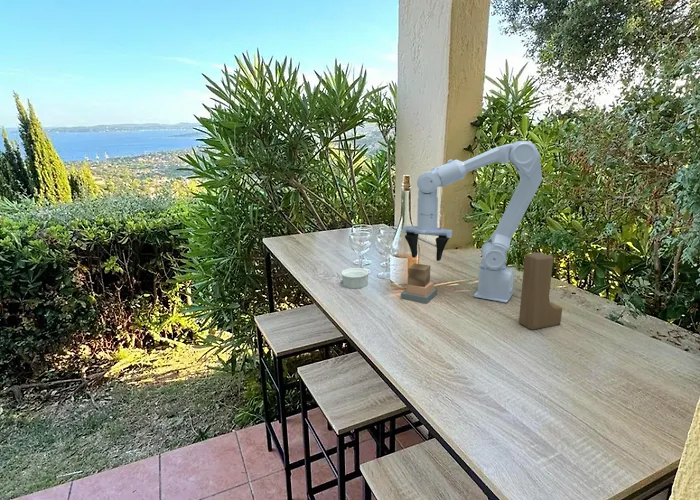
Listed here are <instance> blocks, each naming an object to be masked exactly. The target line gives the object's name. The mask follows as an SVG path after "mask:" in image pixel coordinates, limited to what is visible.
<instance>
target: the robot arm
mask: <svg viewBox="0 0 700 500" xmlns="http://www.w3.org/2000/svg"><path fill="white" fill-rule="evenodd" d="M493 163H503V164H508V163H511V164H512V165H513V166H514V167H515V169H516V171H517V174H518V176H519V178H520V181H519V182H518V185H517V186H516V188H515V190H514V193H513V194H512V196H511V198H510V200H509V202H508V204H507V207H506V208H505V210H504V213H503V215H502V216H501V218H500V220H499V222H498V224H497V226H496V229H495V230H494V231H493V233H491V235H490V237H489V239H488V240H487V241H485V242H484V243H483V245H482V246H481V248H480V254H481V257H482V261H481V262H480V263H479V266H478V279H477V280H478V281H477V283H478V285H477V290H476V291H475V293H474V294H473V295H472V296H473V298H477V299H483V300H484V299H485V300H489V301H494V302H501V303H505V304H506V303H508V302H509V301H510V299H511V297H512V295H513V294H514V293H513V291H514V279H515V271H514V269H513V268H509V267H507V264H506V262H507V259H508V258H507V254H508V251H509V249H510V246H511V241H512V239H513V237H514V236H515V233H516V231H517V229H518V227H519V225H520V223H521V221H522V219H523V217H524V216H525V213H526V212H527V210H528V208H529V206H530V204H531V202H532V201H533V198H534V196H535V194H536V193H537V191H538V188H539V187H540V185H541V183H542V180H543V174H542V164H541V154H540V153H539V150H538V149H537V147H536V145H535V144H534V143H533V142H531V141H529V140H528V141H527V140H517V141H515V142H512V143H506V144H503V145H500V146H497V147H493V148H491V149H488V150H487V151H485V152H482V153H480V154H477V155H475V156H474V157H471V158H469V159H466V160H465V161H461V160H459V159H454V160H453V159H449V160H447V163H445V164H443V165H440V166H437V167H435V166H432V167H431V168H430V170H429V171H428V170H427V171H424V172H423V173H421V174H420V175H419V176H418V178H417V180H416V185H417V189H418V192H417V196H418V197H417V212H416V213H417V215H416V216H417V220H416V221H417V223H416V225H405V226H402V234H405V235H404V238H405V240H406V243H407V244H408V246H409V250H410V253H411V258H416V257H417V256H418V243H419V242H418V240H419V236H420V235H425V236H434V237H435V236H436V237H435V243H436V244H435V246H436V256H435V258H436V262H440V261H441V260H442V256H443V253H444V250H445V247H446V244H447V243H448V241H449V240H450V238H452V237H453V229H448V228H443V227H438V206H439V205H438V201H439V199H438V188H440V187H441V188H444V187H447V186H449V185H451V184H454V183H456V182H460V181H462V180H464V179H465V177H466V175H467V173H469V172H472V171H475V170H477V169H480V168H483V167H486V166H489V165H491V164H493Z"/></svg>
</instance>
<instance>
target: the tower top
mask: <svg viewBox="0 0 700 500" xmlns="http://www.w3.org/2000/svg"><path fill="white" fill-rule="evenodd" d="M405 288H406V289H405V290H406V292H407V293H411V294H415V295H420V296H424V297H425V296H427V295H428V294H430V293H431V292H432V291H434V288H435V281H430V282H429V283H428V284H427V285H426V286H425V287H420V286H414V285H408V283H406V287H405Z"/></svg>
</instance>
